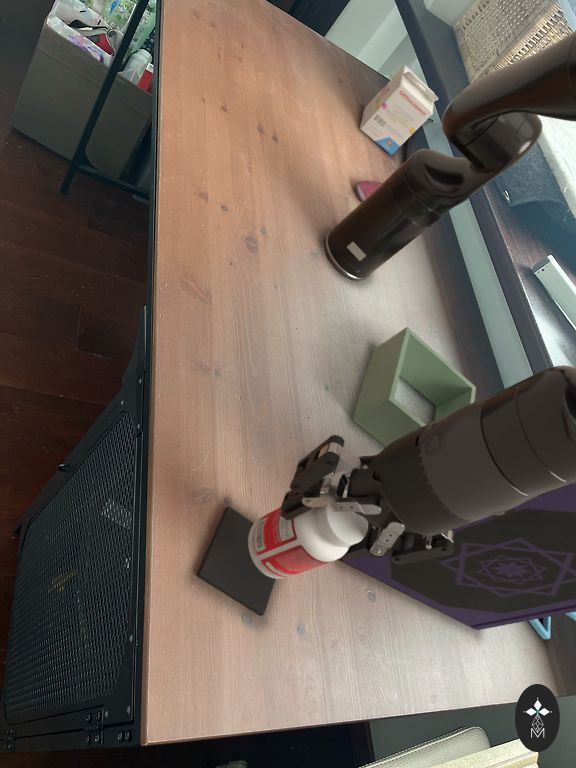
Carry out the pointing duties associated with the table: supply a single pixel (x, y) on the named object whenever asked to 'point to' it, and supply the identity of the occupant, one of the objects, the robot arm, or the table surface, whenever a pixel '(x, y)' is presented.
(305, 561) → the pill bottle
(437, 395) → the green open box
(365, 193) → the eraser
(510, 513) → the book
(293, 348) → the table surface
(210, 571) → the mat
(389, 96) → the ink box
